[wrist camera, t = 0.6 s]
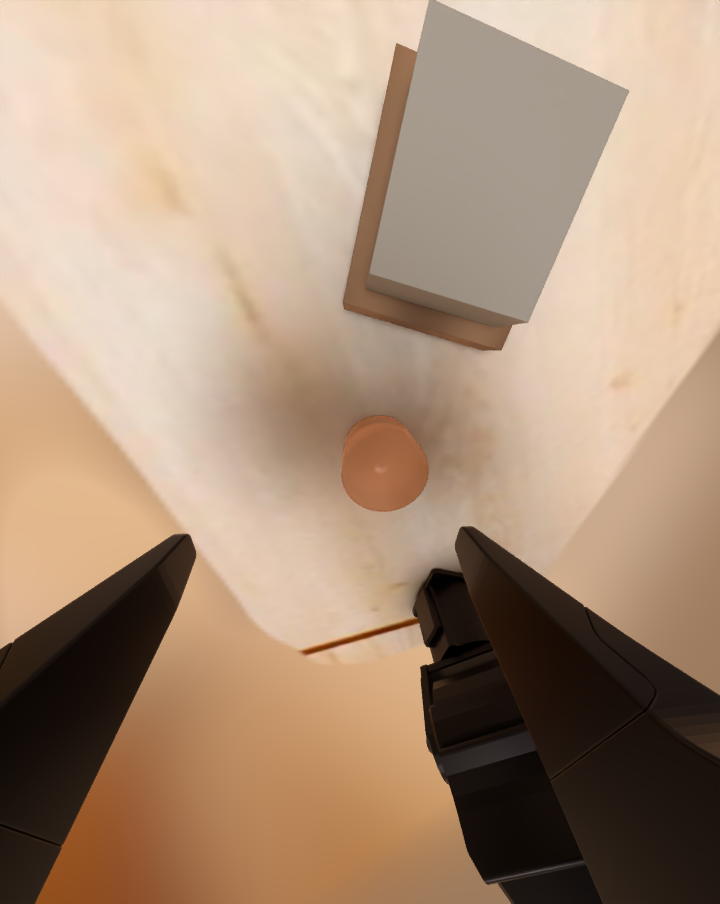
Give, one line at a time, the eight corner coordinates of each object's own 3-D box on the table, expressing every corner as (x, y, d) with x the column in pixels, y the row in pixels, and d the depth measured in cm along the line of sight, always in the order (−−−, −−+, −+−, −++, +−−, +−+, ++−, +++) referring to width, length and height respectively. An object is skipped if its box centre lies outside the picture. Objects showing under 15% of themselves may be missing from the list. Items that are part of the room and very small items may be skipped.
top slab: (565, 149, 12) (629, 90, 9) (495, 327, 15) (528, 322, 12) (409, 85, 11) (429, -3, 8) (365, 288, 14) (369, 273, 11)
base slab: (550, 172, 15) (596, 131, 12) (478, 350, 18) (501, 350, 16) (387, 106, 14) (396, 43, 11) (344, 310, 17) (342, 302, 14)
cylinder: (422, 425, 20) (441, 445, 16) (400, 486, 22) (411, 518, 18) (353, 407, 19) (353, 423, 15) (336, 472, 21) (332, 502, 17)
